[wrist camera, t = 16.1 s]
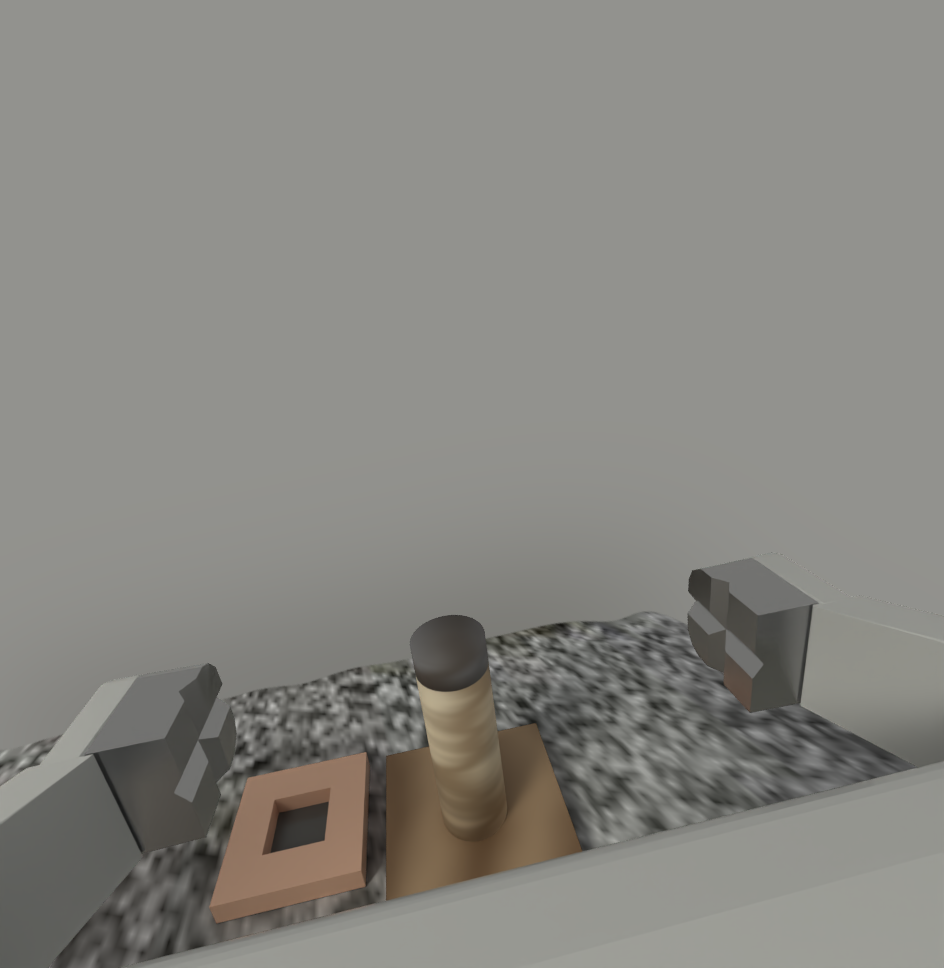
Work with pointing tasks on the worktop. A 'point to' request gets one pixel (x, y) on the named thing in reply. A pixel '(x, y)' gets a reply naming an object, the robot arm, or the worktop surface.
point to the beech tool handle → (461, 724)
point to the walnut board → (448, 860)
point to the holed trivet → (296, 838)
